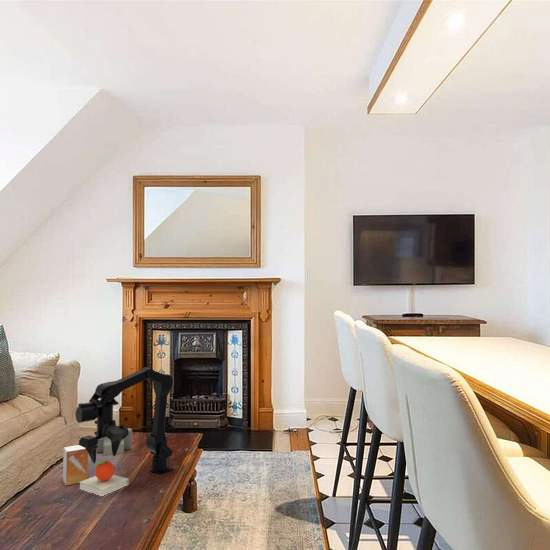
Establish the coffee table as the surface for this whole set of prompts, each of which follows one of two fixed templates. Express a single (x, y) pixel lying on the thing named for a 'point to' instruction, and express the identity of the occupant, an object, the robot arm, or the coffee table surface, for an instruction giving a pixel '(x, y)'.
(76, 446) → the small box
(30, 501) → the coffee table surface
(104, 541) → the coffee table surface
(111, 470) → the clementine
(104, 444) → the digital clock
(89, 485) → the book
